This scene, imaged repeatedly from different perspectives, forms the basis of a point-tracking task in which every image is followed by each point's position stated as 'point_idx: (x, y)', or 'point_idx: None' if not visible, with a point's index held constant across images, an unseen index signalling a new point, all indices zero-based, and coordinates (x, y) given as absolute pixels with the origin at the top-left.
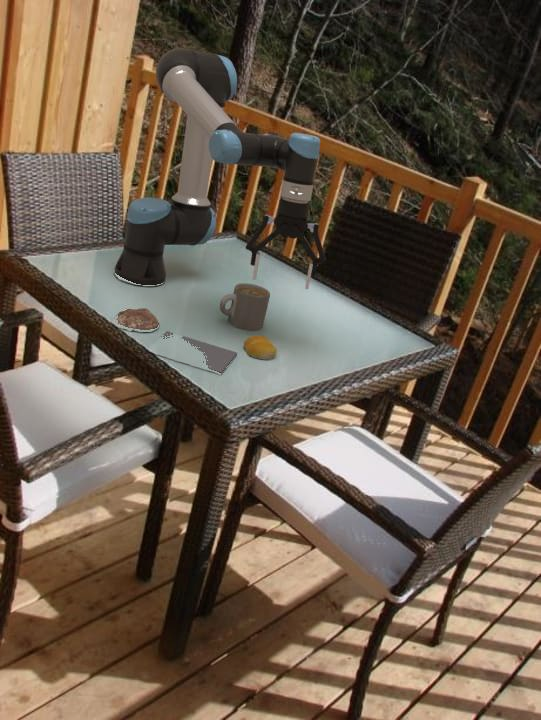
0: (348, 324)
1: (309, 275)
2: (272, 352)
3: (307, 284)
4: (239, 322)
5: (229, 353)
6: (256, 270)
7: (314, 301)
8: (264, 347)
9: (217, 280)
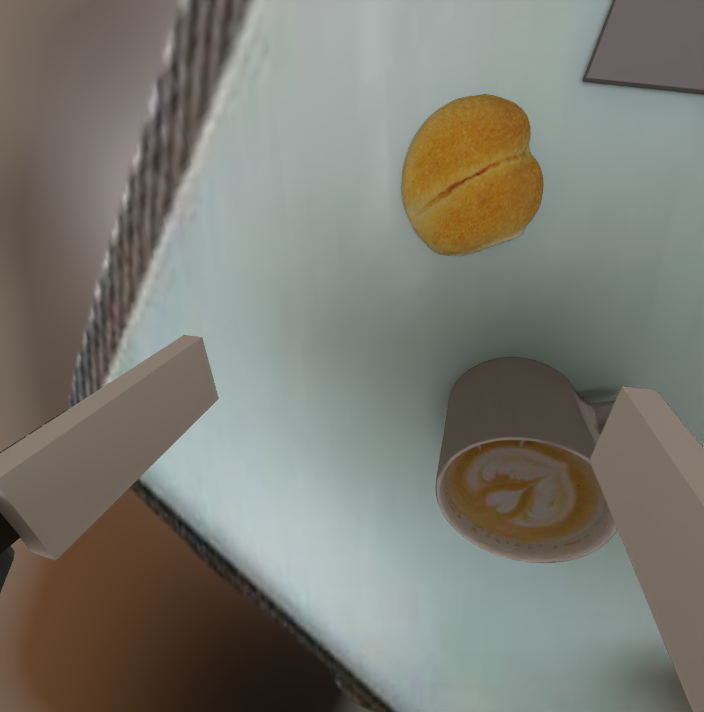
0: (238, 478)
1: (106, 394)
2: (418, 131)
3: (170, 351)
4: (546, 373)
5: (636, 34)
6: (674, 452)
7: (319, 568)
8: (456, 119)
9: (579, 650)
